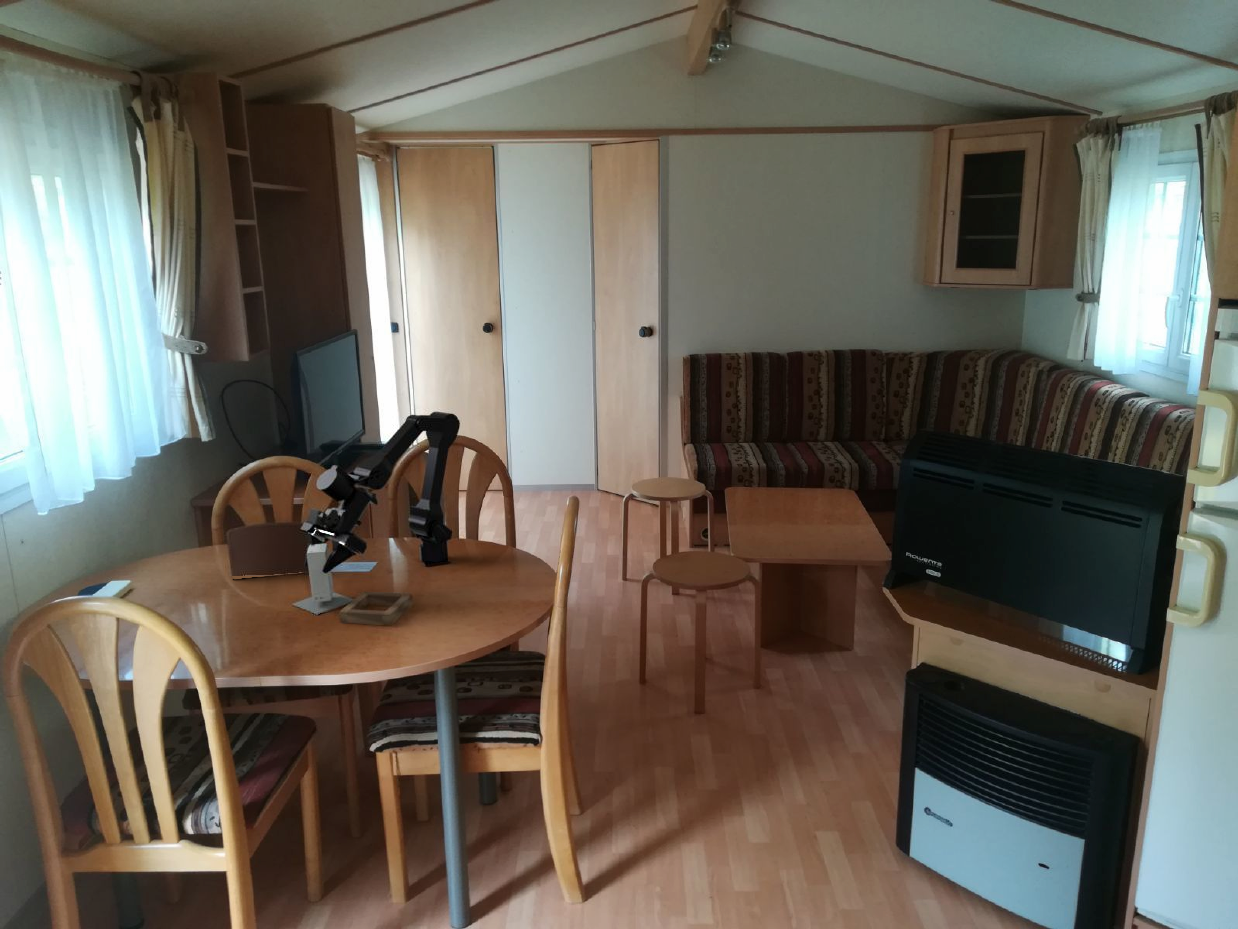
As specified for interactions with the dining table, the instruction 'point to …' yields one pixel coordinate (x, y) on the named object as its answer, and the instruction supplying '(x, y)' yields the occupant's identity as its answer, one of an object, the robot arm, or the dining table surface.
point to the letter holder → (267, 549)
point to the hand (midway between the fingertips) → (314, 569)
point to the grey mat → (323, 604)
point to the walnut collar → (388, 617)
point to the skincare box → (319, 573)
